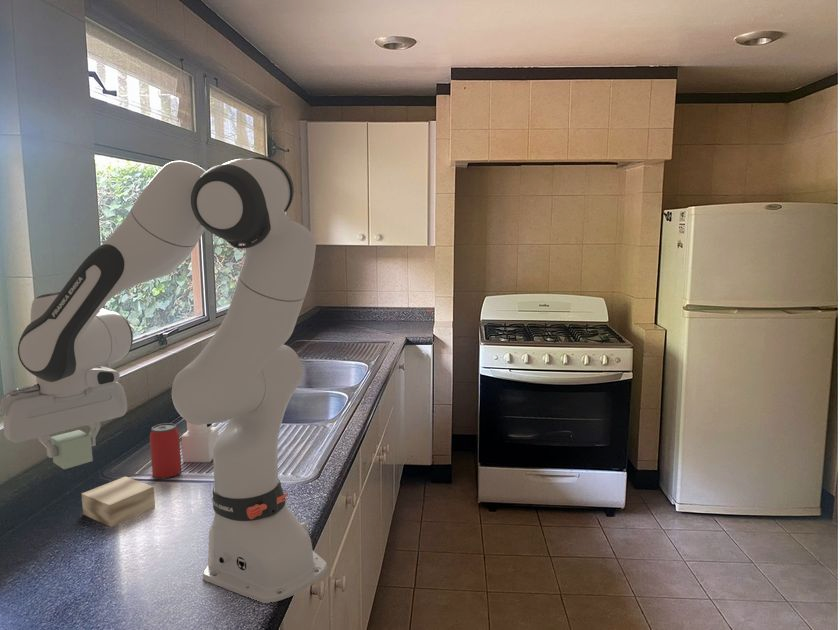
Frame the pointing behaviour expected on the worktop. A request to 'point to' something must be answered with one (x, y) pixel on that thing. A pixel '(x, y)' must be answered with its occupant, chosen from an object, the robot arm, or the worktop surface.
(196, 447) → the medicine bottle
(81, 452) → the sage block
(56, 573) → the worktop surface
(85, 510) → the birch block
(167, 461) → the beer can
